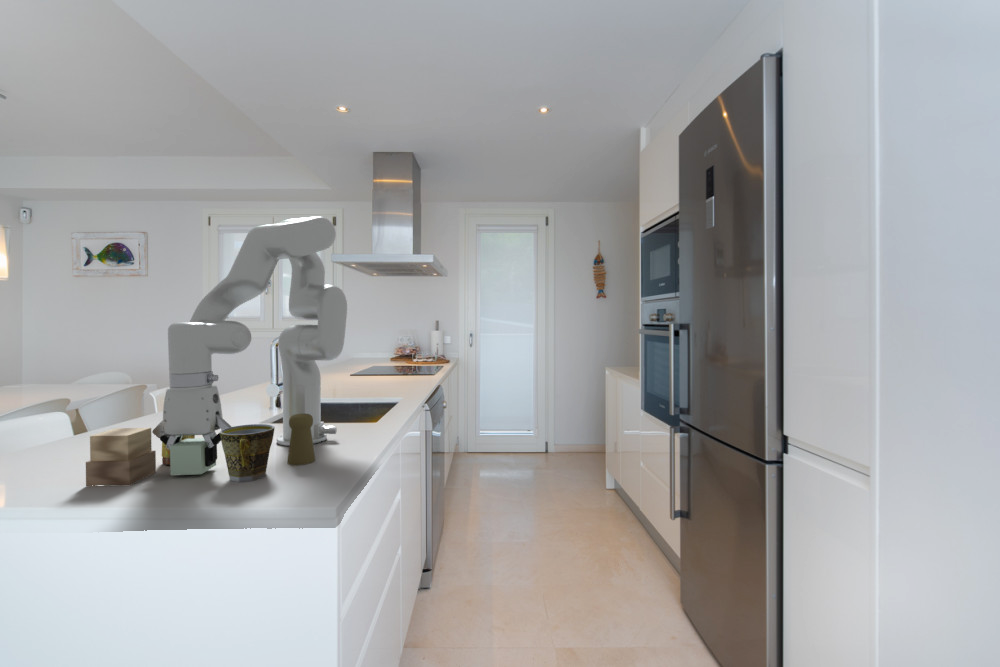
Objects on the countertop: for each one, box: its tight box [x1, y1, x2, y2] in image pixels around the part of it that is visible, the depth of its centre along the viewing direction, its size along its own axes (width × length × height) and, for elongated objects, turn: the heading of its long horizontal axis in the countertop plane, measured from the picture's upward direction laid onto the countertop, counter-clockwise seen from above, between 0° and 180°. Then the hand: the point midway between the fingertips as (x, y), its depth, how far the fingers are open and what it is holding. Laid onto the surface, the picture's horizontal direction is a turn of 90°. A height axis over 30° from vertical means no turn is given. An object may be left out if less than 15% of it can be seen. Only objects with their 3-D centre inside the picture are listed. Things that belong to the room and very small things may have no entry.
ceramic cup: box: [219, 423, 275, 483], centre depth 96 cm, size 13×10×10 cm
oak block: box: [89, 427, 153, 461], centre depth 96 cm, size 7×7×5 cm
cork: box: [286, 413, 316, 466], centre depth 109 cm, size 6×6×11 cm
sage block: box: [169, 437, 217, 476], centre depth 100 cm, size 6×6×6 cm
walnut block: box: [85, 450, 157, 487], centre depth 96 cm, size 8×8×5 cm
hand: (193, 464), depth 100 cm, fingers closed on sage block, 6 cm apart
